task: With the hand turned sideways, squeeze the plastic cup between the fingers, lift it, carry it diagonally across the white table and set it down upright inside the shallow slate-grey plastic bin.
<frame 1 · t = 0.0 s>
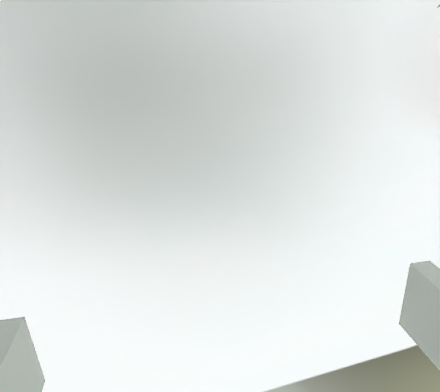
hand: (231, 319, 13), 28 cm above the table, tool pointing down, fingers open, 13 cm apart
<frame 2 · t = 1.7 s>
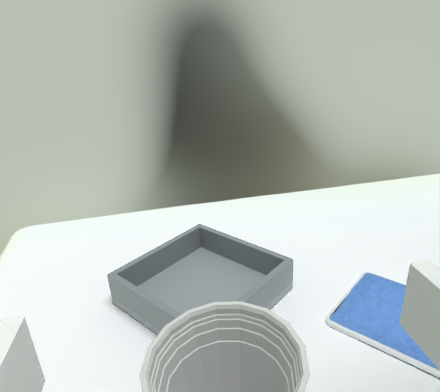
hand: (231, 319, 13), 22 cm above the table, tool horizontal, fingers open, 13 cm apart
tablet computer: (427, 335, 41), on the table
bin: (203, 295, 47), on the table
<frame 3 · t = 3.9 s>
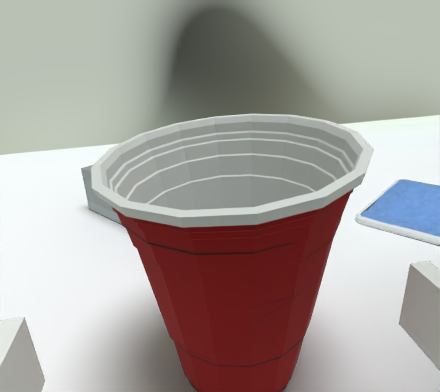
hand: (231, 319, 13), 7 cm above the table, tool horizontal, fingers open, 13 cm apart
plastic cup: (236, 365, 19), on the table
bin: (201, 201, 39), on the table
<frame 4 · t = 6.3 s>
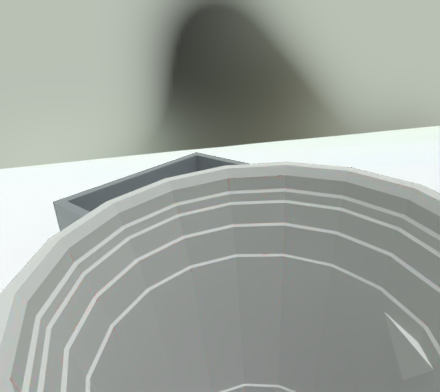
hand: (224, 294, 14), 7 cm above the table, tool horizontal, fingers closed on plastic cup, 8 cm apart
bin: (201, 239, 32), on the table
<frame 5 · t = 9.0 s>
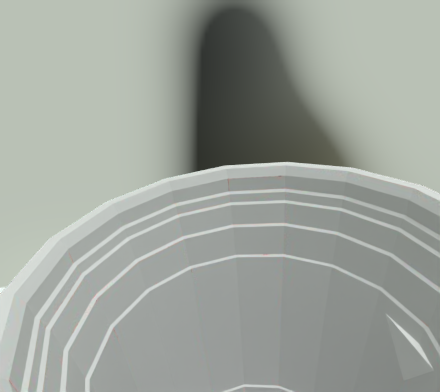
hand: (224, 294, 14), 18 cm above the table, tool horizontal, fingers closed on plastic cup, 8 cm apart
when the fingers open (9 cm above the table, at t = 11.9 s): plastic cup moves 3 cm, point 2 cm above the table.
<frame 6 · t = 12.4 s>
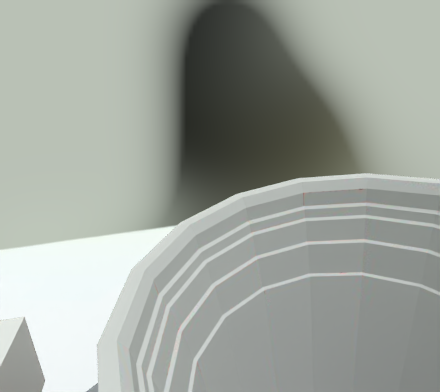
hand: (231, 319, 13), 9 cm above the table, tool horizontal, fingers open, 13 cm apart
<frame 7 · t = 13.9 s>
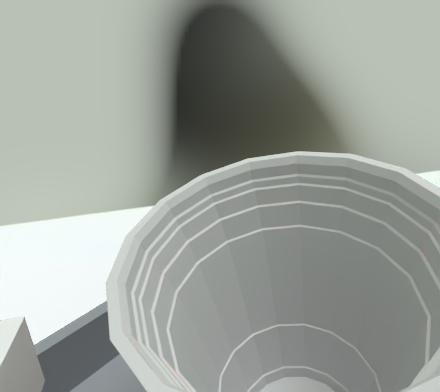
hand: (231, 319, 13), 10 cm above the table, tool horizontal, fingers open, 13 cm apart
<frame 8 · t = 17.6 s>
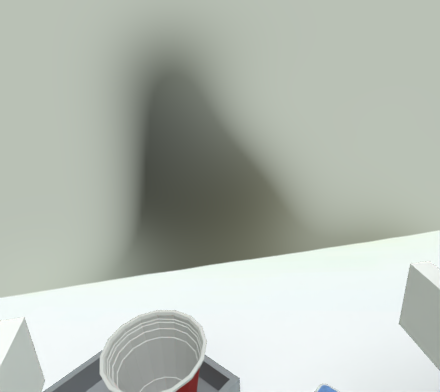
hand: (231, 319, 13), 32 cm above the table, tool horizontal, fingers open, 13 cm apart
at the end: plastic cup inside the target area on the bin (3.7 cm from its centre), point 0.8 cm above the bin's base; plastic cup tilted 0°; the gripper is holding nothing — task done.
